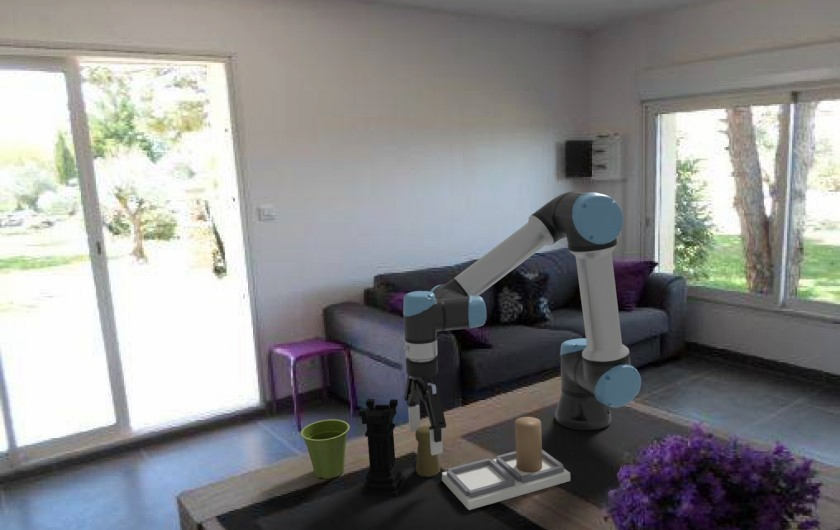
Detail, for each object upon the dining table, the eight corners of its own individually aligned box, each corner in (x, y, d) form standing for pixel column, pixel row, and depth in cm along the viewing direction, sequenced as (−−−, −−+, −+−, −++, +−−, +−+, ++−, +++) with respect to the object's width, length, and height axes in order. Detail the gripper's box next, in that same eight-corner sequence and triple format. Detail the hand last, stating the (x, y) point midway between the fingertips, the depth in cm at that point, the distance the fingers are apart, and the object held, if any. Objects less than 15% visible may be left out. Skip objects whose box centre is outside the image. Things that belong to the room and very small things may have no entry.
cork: (423, 479, 145) (420, 435, 143) (411, 468, 150) (408, 426, 149) (445, 472, 148) (442, 429, 146) (433, 462, 153) (430, 420, 151)
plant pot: (333, 456, 160) (330, 415, 158) (362, 470, 151) (359, 427, 149) (295, 473, 151) (291, 430, 150) (323, 489, 143) (319, 444, 141)
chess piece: (396, 496, 138) (391, 412, 135) (362, 494, 140) (356, 411, 137) (404, 478, 146) (399, 398, 143) (372, 476, 148) (366, 398, 144)
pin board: (536, 455, 154) (535, 406, 151) (570, 480, 141) (569, 427, 139) (442, 480, 144) (439, 428, 142) (468, 510, 131) (466, 453, 129)
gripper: (389, 346, 155) (393, 425, 158) (427, 375, 132) (431, 467, 135) (416, 341, 157) (420, 420, 161) (458, 369, 134) (462, 460, 138)
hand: (425, 442), depth 148 cm, fingers open, 13 cm apart
